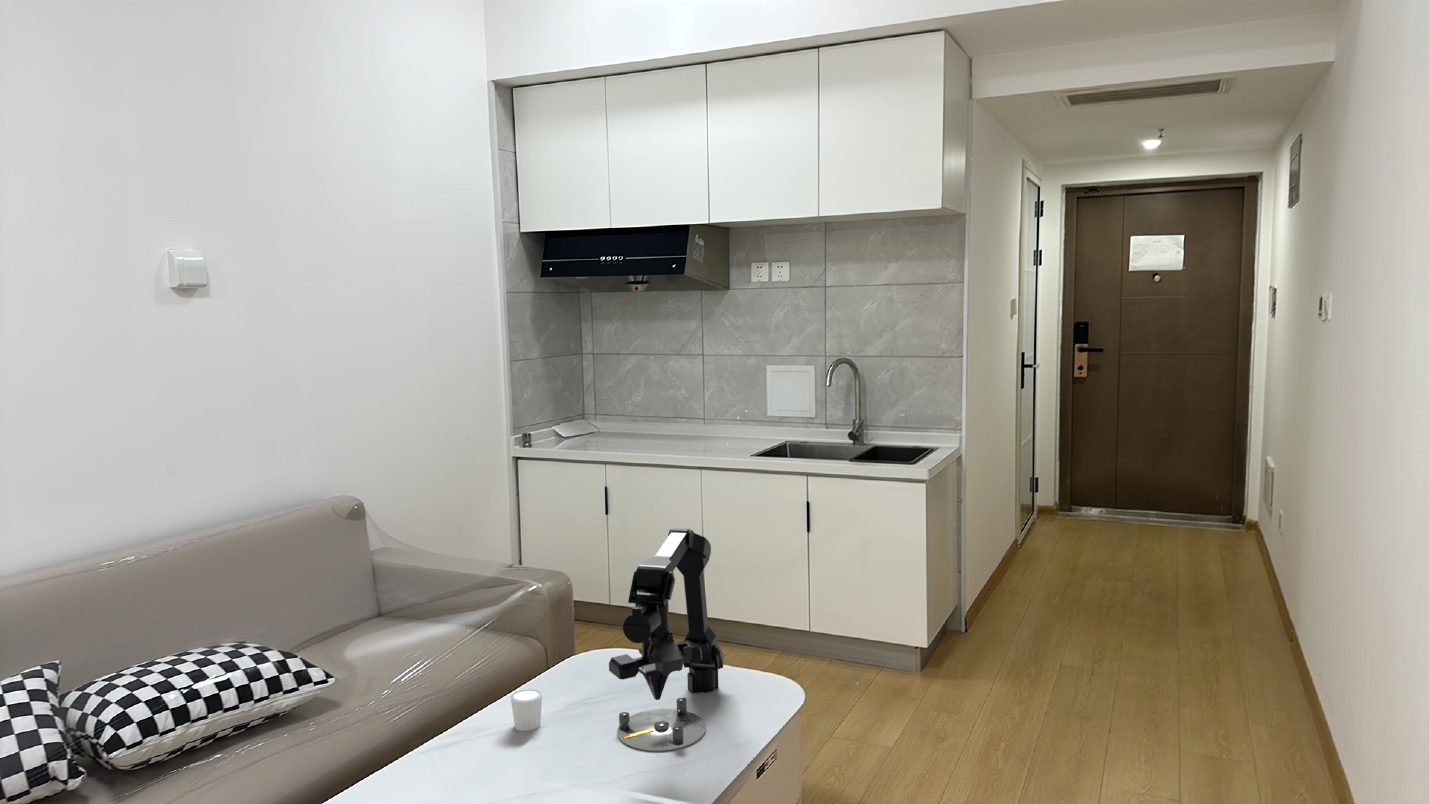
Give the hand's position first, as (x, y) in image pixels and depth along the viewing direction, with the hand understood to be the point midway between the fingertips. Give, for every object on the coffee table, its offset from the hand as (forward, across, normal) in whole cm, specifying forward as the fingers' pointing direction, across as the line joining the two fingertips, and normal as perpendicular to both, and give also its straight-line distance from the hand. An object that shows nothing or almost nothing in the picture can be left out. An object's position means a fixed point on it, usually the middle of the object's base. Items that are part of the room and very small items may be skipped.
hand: (657, 699), depth 192 cm
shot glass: (+12, -18, +28) cm, 36 cm away
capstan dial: (+11, +5, +8) cm, 14 cm away
